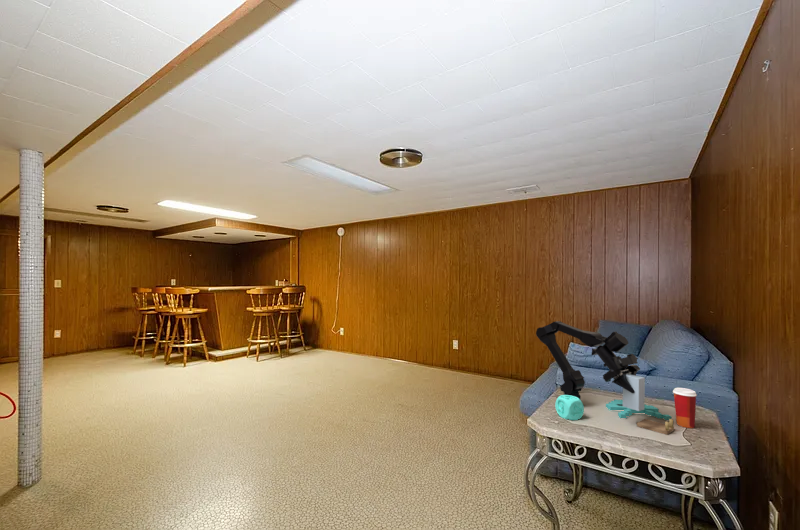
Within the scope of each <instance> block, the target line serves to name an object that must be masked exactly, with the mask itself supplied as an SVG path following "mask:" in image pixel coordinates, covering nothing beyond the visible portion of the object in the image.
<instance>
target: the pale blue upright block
mask: <svg viewBox="0 0 800 530" xmlns="http://www.w3.org/2000/svg"><path fill="white" fill-rule="evenodd" d="M626 379H627V381H628V382H629V383H630V385H631V386H632V388H633V389H634V391H635V393H631V392H629V391H628V390H626V389H624V388H622V400H623V406H624V407H627V408H630V409H633V410H636V411H641V410H644V404H646V403H645V401H646V400H645V396H646V395H645V394H646V393H645V387H646V386H645V381H646V380H645V377H644V376H640V375H636V376H635V375H631V374H626Z"/></svg>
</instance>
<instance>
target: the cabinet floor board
mask: <svg viewBox="0 0 800 530" xmlns="http://www.w3.org/2000/svg"><path fill="white" fill-rule="evenodd" d="M664 421H665V422H664V423H662V422H659V421H654V420H651V419H646V418H643V419H642V420H639V421H638V422H636V427H638V428H642V429H645V430H649V431H652V432H656V433H659V434H664V435H669V434H670V433H672V432H673V431H674V430H675V426H674V419H673V418H672V419H669V421H666V420H664Z"/></svg>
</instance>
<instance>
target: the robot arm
mask: <svg viewBox="0 0 800 530" xmlns="http://www.w3.org/2000/svg"><path fill="white" fill-rule="evenodd" d="M558 332H560V333H564V334H566V335H568V336H570V337H573V338H575V339H577V340H580V342H581V344H582V343H583V344H584V345H586V346H588V347H590V348H591V356H597V357H599V359H600V360H601V361H602V362H603V366H604V367H605V368H606V367H607V369H608V371H606V372H605V373H603V375H602V378H603V379H602V380H604V381H605V382H606V383H609V382H611V383H613V384H614V385H615V384H616V385H617V386H619V387H620V388H622V389H623V388H624V389H626V390H628V391H629V392H631V393H635V391H634V389H633V388H632V386H631V385H630V383H629V382H628V381H627V379H626V374H631V375H635V376H637V373H638V372H639V371H640V370H641V368H640V367H639V365H637V364H638V356H636V355H634V354H633V353H630V354H627V355H626V357H622V356H620V355H616V354H615V353H619V352H620V351H621V350H623V348H625V347H626V346H627V345H628V344H629V341H628V339H627V338H626V337H625V336H623V335H622V334H620V333H618V331H613V332H611V333H610V335H608V336H607V337H606V336H603V335H602V334H601V333H599V332H595V331H589V330H583V329H580V328H578V327H575V326H573V325H569V324H567V323H565V322H562V321H561V320H558V321H557V320H555V321H553V322H551V323H549V324H546V325H544V326H542V327H538V328H537V329H536V331H535V336H536V337H537V338H538V339H539V341H540V342H541V343H543V344H544V345H545V346H546V347H547V348H548V351H549V352H550V353H551V355H552V357H553V359H554V360H555V362H556V364H557V366H558V367H559V369H560V370H561V372H562V380H563V383H562V384H561V385H560V386H559V388H560V391H561V392H563V395H571V396H575V397H578V398H579V399H580V400H581V395H580V392H581V391H582V389H583V388H584V387H585V385H586V380H585V377H584V376H583V375H582V372H581V371H580V370H578V369H577V370H575V368H573V367H572V365H571V363H570V362H569V360H568V359H567V357H566V355H565V353H564V352H563V351H562V349H561V346H559V344H558V342H557V339H556V337H557V336H556V334H557V333H558ZM592 347H596V348H592ZM612 379H613V380H612ZM581 401H582V400H581Z"/></svg>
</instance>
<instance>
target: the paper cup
mask: <svg viewBox="0 0 800 530" xmlns="http://www.w3.org/2000/svg"><path fill="white" fill-rule="evenodd" d="M672 393H673V399H674V401H673V402H674V410H675V419H676V424H677V425H678V427H682V428H685V429H695V424H696V409H697V408H696V405H697V404H696V403H697V396H698V395H697V393H696V391H694V390H693V389H691V388H684V387H675V388H674V389H673V390H672Z"/></svg>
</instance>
